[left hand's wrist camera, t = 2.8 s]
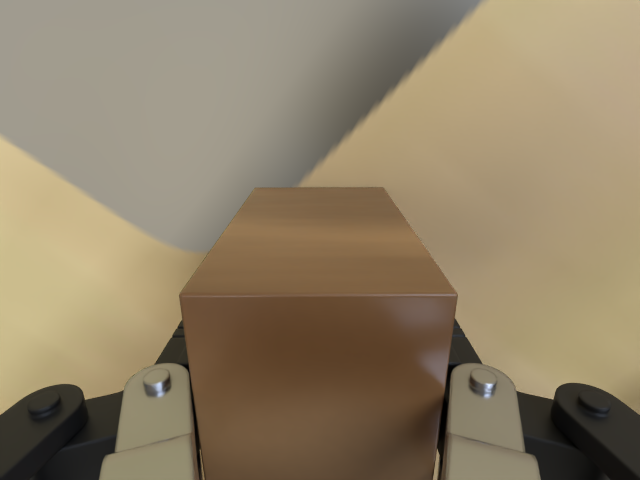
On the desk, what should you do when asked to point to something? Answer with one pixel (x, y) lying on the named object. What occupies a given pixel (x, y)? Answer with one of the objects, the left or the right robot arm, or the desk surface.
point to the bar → (318, 341)
